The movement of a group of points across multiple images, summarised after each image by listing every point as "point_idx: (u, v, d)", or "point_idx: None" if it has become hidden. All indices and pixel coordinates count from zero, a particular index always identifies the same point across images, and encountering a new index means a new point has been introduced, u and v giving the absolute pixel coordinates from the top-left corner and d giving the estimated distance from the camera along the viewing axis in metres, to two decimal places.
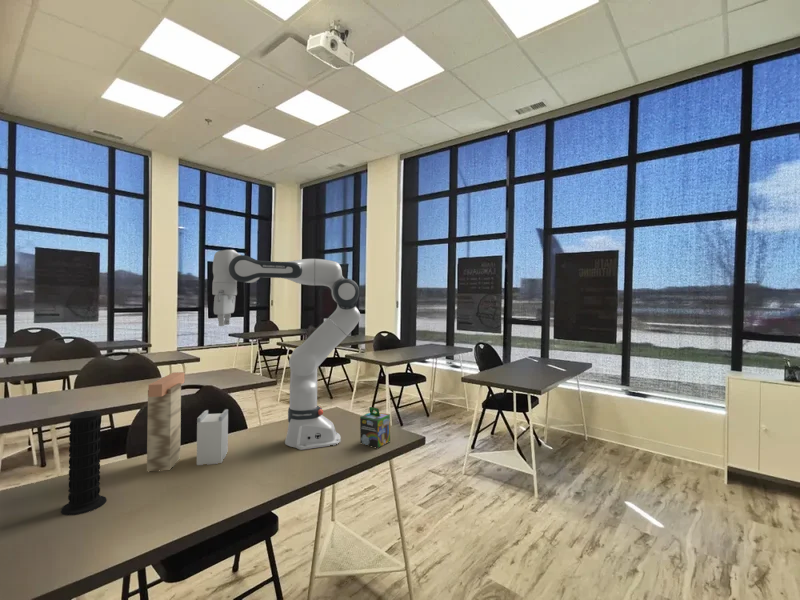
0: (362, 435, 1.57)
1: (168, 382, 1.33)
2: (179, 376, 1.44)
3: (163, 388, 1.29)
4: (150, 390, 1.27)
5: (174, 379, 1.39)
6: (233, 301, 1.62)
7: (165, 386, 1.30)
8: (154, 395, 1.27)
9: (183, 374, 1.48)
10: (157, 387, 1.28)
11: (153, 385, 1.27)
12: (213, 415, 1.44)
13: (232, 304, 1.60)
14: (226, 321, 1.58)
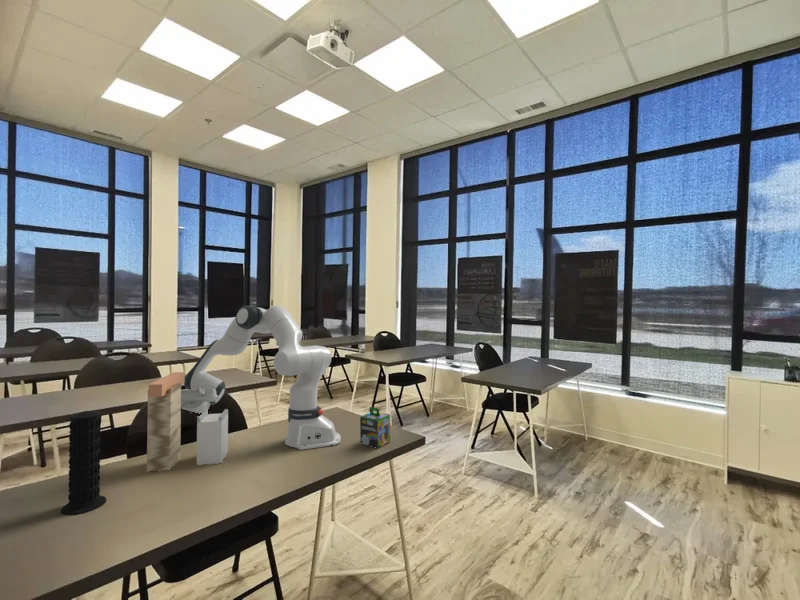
0: (362, 435, 1.57)
1: (168, 382, 1.33)
2: (179, 376, 1.44)
3: (163, 388, 1.29)
4: (150, 390, 1.27)
5: (174, 379, 1.39)
6: None
7: (165, 386, 1.30)
8: (154, 395, 1.27)
9: (183, 374, 1.48)
10: (157, 387, 1.28)
11: (153, 385, 1.27)
12: (213, 415, 1.44)
13: None
14: None
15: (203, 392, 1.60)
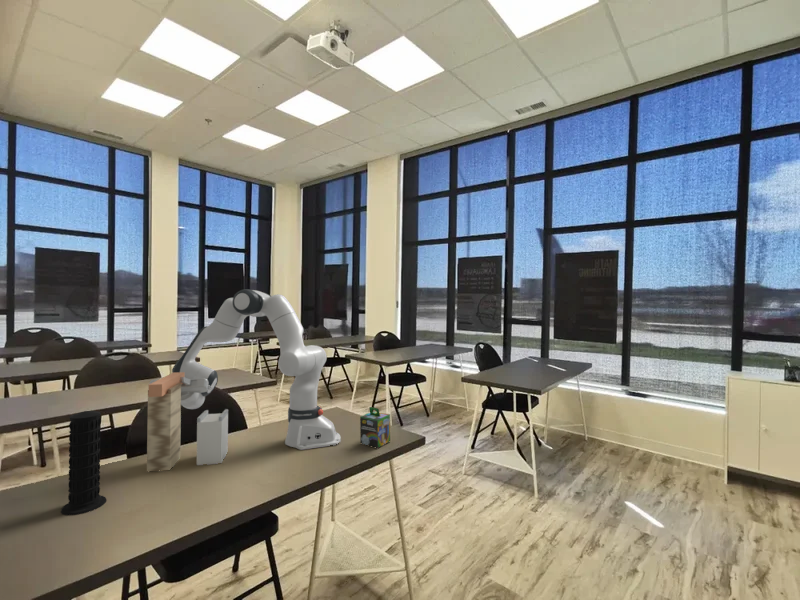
0: (362, 435, 1.57)
1: (168, 382, 1.33)
2: (179, 376, 1.44)
3: (163, 388, 1.29)
4: (150, 390, 1.27)
5: (174, 379, 1.39)
6: None
7: (165, 386, 1.30)
8: (154, 395, 1.27)
9: (183, 374, 1.48)
10: (157, 387, 1.28)
11: (153, 385, 1.27)
12: (213, 415, 1.44)
13: None
14: None
15: (188, 382, 1.47)
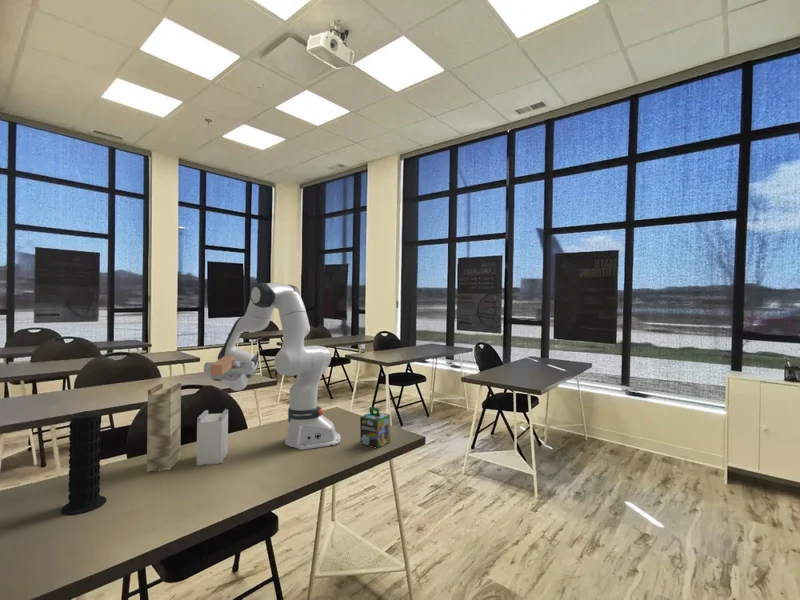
0: (362, 435, 1.57)
1: (225, 363, 1.52)
2: (231, 359, 1.62)
3: (222, 368, 1.47)
4: (212, 370, 1.45)
5: (228, 361, 1.57)
6: None
7: (223, 366, 1.49)
8: (215, 374, 1.46)
9: (233, 357, 1.66)
10: (218, 367, 1.46)
11: (214, 365, 1.46)
12: (213, 415, 1.44)
13: None
14: None
15: (238, 364, 1.65)
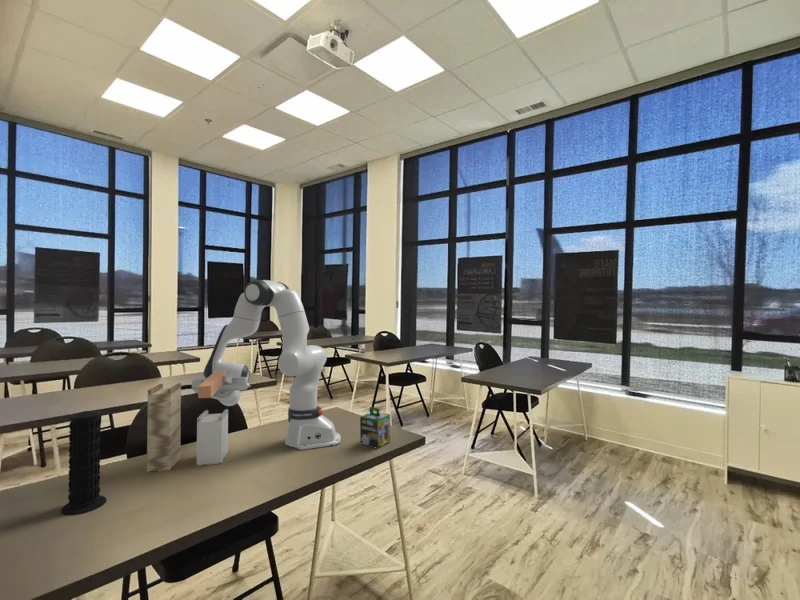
0: (362, 435, 1.57)
1: (215, 383, 1.37)
2: (222, 375, 1.47)
3: (211, 389, 1.32)
4: (200, 392, 1.31)
5: (219, 379, 1.42)
6: None
7: (213, 387, 1.34)
8: (204, 396, 1.31)
9: (224, 373, 1.51)
10: (206, 388, 1.31)
11: (202, 387, 1.31)
12: (213, 415, 1.44)
13: None
14: None
15: (230, 381, 1.51)
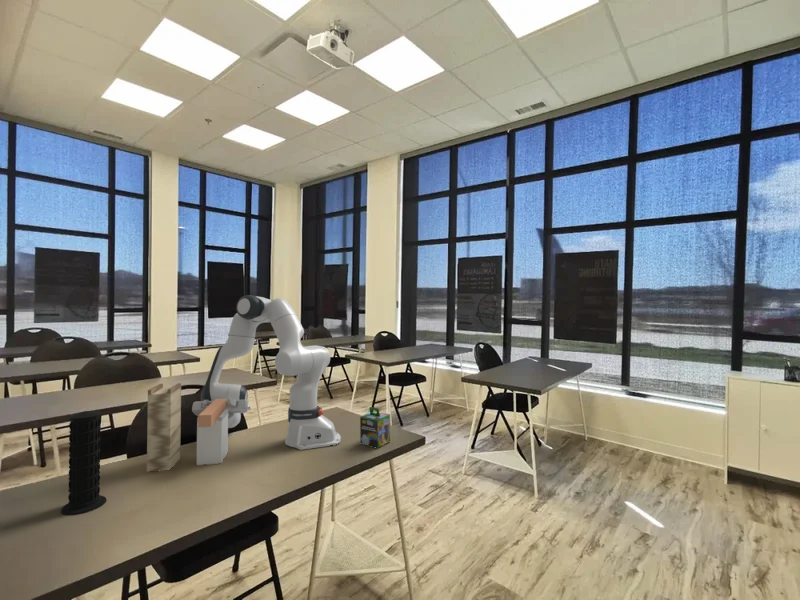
0: (362, 435, 1.57)
1: (215, 411, 1.37)
2: (222, 403, 1.48)
3: (212, 418, 1.32)
4: (200, 421, 1.31)
5: (219, 407, 1.43)
6: None
7: (213, 416, 1.34)
8: (204, 425, 1.31)
9: (225, 401, 1.51)
10: (206, 417, 1.31)
11: (203, 416, 1.31)
12: None
13: None
14: (208, 402, 1.48)
15: (234, 403, 1.51)
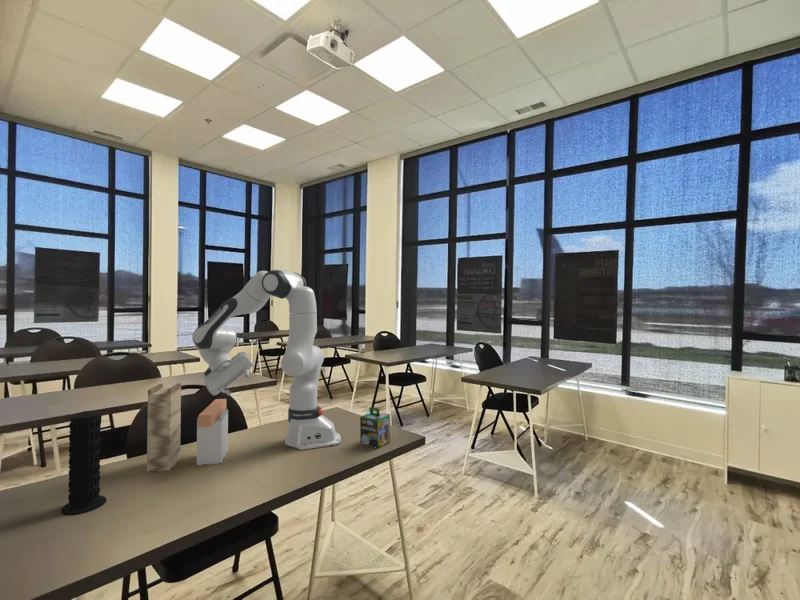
0: (362, 435, 1.57)
1: (215, 411, 1.37)
2: (222, 403, 1.48)
3: (212, 418, 1.32)
4: (200, 421, 1.31)
5: (219, 407, 1.43)
6: None
7: (213, 416, 1.34)
8: (204, 425, 1.31)
9: (225, 401, 1.51)
10: (206, 417, 1.31)
11: (203, 416, 1.31)
12: None
13: None
14: (229, 390, 1.62)
15: (248, 371, 1.67)
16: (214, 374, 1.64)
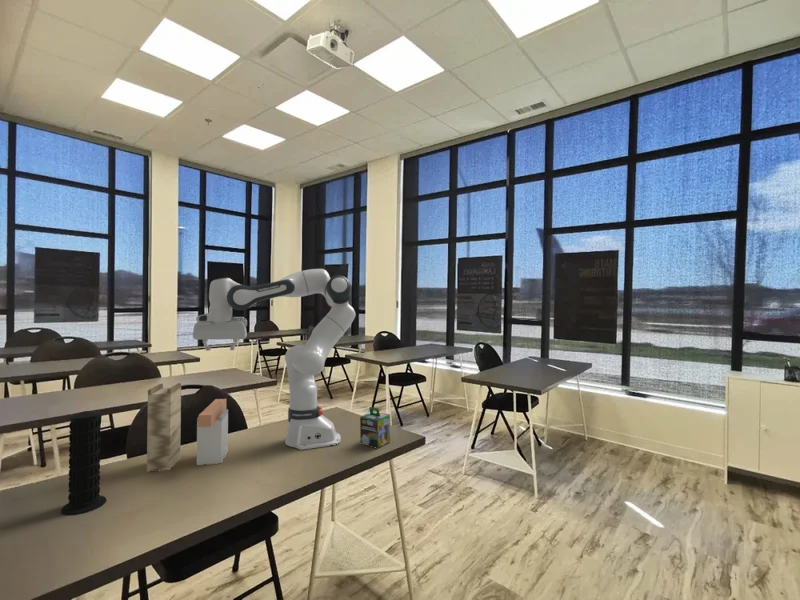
0: (362, 435, 1.57)
1: (215, 411, 1.37)
2: (222, 403, 1.48)
3: (212, 418, 1.32)
4: (200, 421, 1.31)
5: (219, 407, 1.43)
6: None
7: (213, 416, 1.34)
8: (204, 425, 1.31)
9: (225, 401, 1.51)
10: (206, 417, 1.31)
11: (203, 416, 1.31)
12: None
13: None
14: (209, 347, 1.60)
15: (236, 342, 1.62)
16: (207, 324, 1.58)
